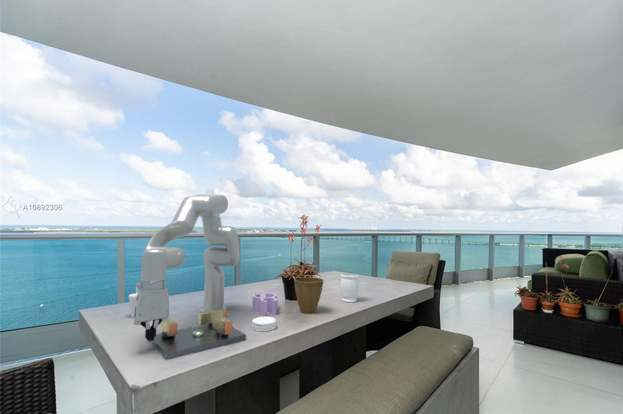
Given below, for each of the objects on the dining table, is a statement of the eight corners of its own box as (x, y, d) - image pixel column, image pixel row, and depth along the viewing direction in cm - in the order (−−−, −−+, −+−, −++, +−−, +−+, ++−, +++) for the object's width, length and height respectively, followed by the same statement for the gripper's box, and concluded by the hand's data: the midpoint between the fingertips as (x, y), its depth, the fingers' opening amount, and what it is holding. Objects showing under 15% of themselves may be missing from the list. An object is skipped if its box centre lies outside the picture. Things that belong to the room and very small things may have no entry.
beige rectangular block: (201, 329, 120) (202, 315, 121) (197, 326, 124) (197, 312, 124) (228, 323, 128) (228, 310, 128) (223, 321, 131) (223, 308, 131)
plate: (149, 341, 113) (149, 332, 113) (222, 326, 131) (222, 318, 132) (166, 359, 98) (166, 349, 98) (245, 339, 116) (246, 331, 116)
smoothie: (126, 318, 139) (128, 286, 140) (127, 315, 144) (129, 284, 145) (143, 317, 142) (144, 285, 143) (143, 313, 147) (145, 283, 148)
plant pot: (289, 314, 152) (290, 280, 153) (298, 306, 166) (298, 276, 167) (319, 316, 148) (320, 282, 149) (325, 308, 162) (326, 277, 163)
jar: (339, 302, 177) (340, 275, 178) (341, 298, 187) (341, 273, 188) (358, 303, 175) (358, 276, 176) (358, 299, 186) (359, 273, 187)
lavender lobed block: (283, 314, 151) (283, 300, 151) (257, 317, 146) (257, 302, 147) (272, 304, 169) (273, 291, 170) (249, 306, 165) (250, 293, 165)
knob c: (210, 331, 119) (210, 316, 119) (220, 328, 122) (221, 314, 122) (222, 339, 110) (223, 323, 111) (234, 336, 113) (234, 321, 114)
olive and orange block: (157, 332, 116) (158, 317, 116) (169, 330, 119) (170, 315, 119) (166, 341, 108) (167, 325, 108) (179, 338, 110) (180, 322, 111)
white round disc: (259, 323, 137) (260, 315, 137) (280, 326, 134) (280, 318, 134) (247, 330, 128) (247, 321, 128) (268, 333, 124) (268, 324, 125)
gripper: (130, 289, 100) (127, 348, 98) (179, 284, 109) (176, 338, 108) (126, 285, 105) (122, 341, 104) (172, 281, 115) (170, 332, 114)
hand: (150, 339), depth 106 cm, fingers closed
